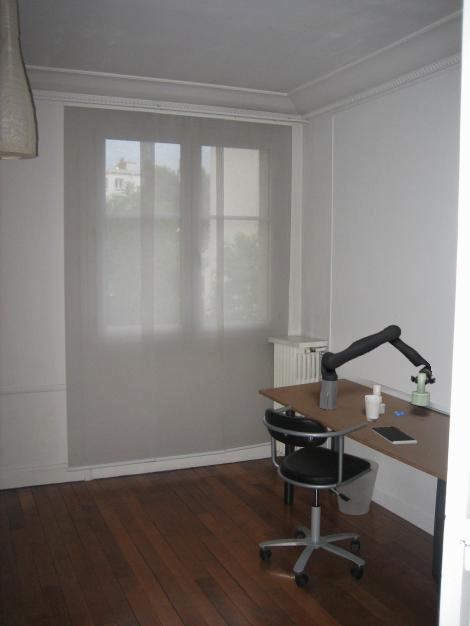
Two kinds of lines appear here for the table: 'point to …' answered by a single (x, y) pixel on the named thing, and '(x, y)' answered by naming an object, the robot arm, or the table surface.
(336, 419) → the table surface
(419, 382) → the pale green pedestal post
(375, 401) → the foam cup
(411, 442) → the smartphone
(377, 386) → the white joystick
